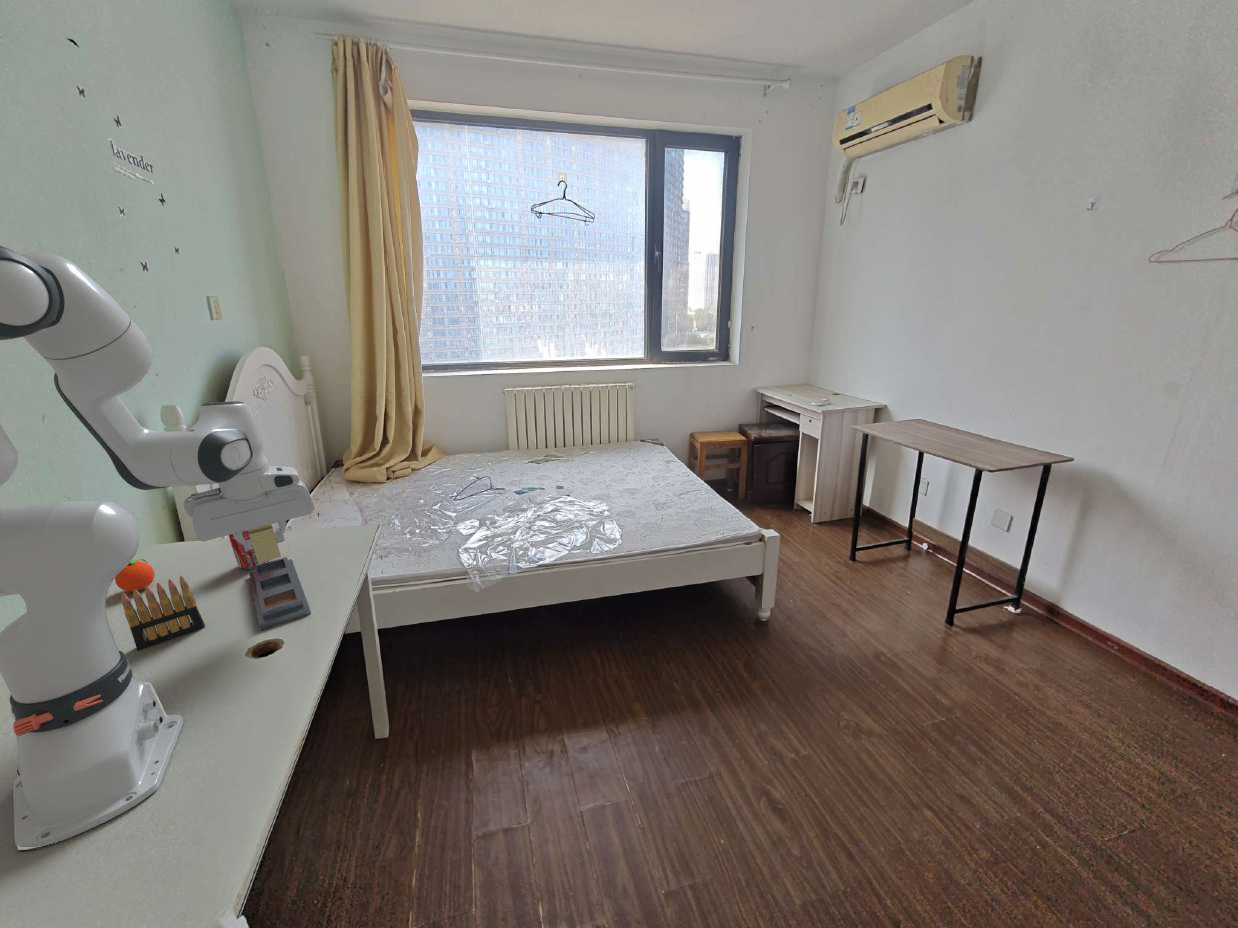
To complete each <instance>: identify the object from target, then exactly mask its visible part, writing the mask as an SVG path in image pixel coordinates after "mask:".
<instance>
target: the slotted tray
mask: <svg viewBox="0 0 1238 928" xmlns="http://www.w3.org/2000/svg"><path fill="white" fill-rule="evenodd" d="M252 568H253V569H251V570H249V571H248V573H249V578H250V583H251V589H252V595H253V599H254V605H255V610H256V616H257V621H258V626H259V629H260V631H265V630H267V629H270V628H272V627H276V626H278V625H282V624H284V623H288V622H290V621H293V620H296V619H299V618H302V617H305V616H308V615H311V614H312V613H311V612H312V611H311V609H310V605H309V602H308V599H307V597H306V594H305V592H304V589H303V586H302V583H301V580H300V578H299V575H298V572H297V570H296V567H295V565H294V561H293V559H292V558H290V559H288V557H287V556H285V557H280V558H276V559H273V560H269V561H267V563H263V564H260V565H256V566H253V567H252Z"/></svg>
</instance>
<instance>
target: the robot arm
mask: <svg viewBox="0 0 1238 928" xmlns="http://www.w3.org/2000/svg"><path fill="white" fill-rule="evenodd" d="M19 338H20V339H21V338H23V339H24V340H25V341H26V342H27V343H28V344H29V345H30V346H31V347H32V348H33V349H34V350H35V352H37V353H38V354H39V355H40V356H42V358H43V359H44V360H45V361H46V362H47V363H48V365H50V367H51V368H52V369H53V371H54V376H53V382H54V387H55V389H56V390H57V393H58V394H59V396H60V398H61V399H62V400H63V402H64V403H65V404H66V405H67V407H68V408H69V410H70V411H71V412H72V413H73V414H74V416H75V417H76V418H77V419H78V420H79V422H81V424H82V425H83V426H84V427H85V428H86V429H87V430H88V432H89V433H90V435H92V437H93V438H94V439H95V440H96V442H98V443H99V445H100V446H101V447H102V448H103V450H104V451H105V452H106V454H107V455H108V456H109V458H110V460H111V462H112V464H113V466H114V468H115V470H116V472H117V473H118V475H119V476H120V477H121V478H122V480H123V481H124V482H125V483H127V484H128V485H130V486H131V487H132V488H135V489H138V490H141V491H151V490H158V489H159V490H160V489H166V488H172V487H191V486H200V485H202V486H203V485H204V486H206V485H216V484H217V485H218V488H217V487H216V488H213V489H208V490H206V491H201V492H194V493H191V494H190V496H188V497H186V499H184V501H183V503H182V504H183V508H184V511H185V514H186V515H187V516H188V517H190V518H192V527H193V532H194V534H195V538H196V539H197V540H198V541H200V542H207V541H210V540H211V541H212V540H216V539H219V538H222V537H226V536H229V535H231V534H233V536H234V539H235V540H237V541H238V542H240V543H241V544H242V545H244V548H245V551H246V552H247V551H250V550H254V548H253V545H252V542H251V539H250V540H246V539H244V538H243V537H242V532H243V531H246V530H250V529H254V528H258V527H262V526H266V525H270V524H272V525H273V524H277V523H278V524H277V525H278V527H279V529H278V531H277V532H274V534H275V538H276V541H277V544H279V543H283V542H285V541H286V540H285V536H284V534H285V531H286V529H287V526H288V523H287V521H288V520H293V519H296V518H300V517H304V516H308V515H311V514H313V513H314V511H315V508H316V507H315V503H314V501H313V499H312V496H311V493H310V491H309V490H308V488H307V486H306V484H305V482H304V481H302V480H301V479H300V475H299V472H298V471H297V470H296V468H295V467H293V466H283V465H281V466H279V465H270V462H269V459H268V458H267V456H266V455H265V453H264V442H263V436H262V434H261V430H260V427H259V424H258V421H257V419H256V417H255V415H254V412H253V411H252V409H251V407H250V406H249V405H248V404H247V403H245V402H243V401H241V400H240V401H239V400H235V401H219V402H217V401H214V402H213V401H212V402H205V403H203V404H201V405H199V407H198V416H199V418H198V419H197V421H196V422H195V423H194V424H193V425H192V427H190V428H188V430H178V431H177V430H174V431H159V430H152V429H149V428H147V427H143V426H142V425H141V424H140V423H139V422H138V421H137V419H136V418H135V417H134V415H133V414H132V412H131V411H130V410H129V408H128V407H127V405H126V404H125V403H124V402H123V401H122V399H121V398H120V395H122V394H124V393H126V392H128V391H130V390H131V389H133V388H134V387H136V386H137V384H139V383H140V382H141V381H142V380H143V379H144V378H145V377H146V375H147V374H148V373H149V371H150V369H151V366H152V363H153V356H154V355H153V353H154V352H153V349H152V346H151V343H150V342H149V339H148V338H147V336H146V335H145V334H144V332H143V331H142V329H140V328H139V326H138V325H137V324H136V323H135V321H133V319H132V318H131V317H130V315H129V314H128V313H127V312H126V311H125V310H124V309H123V308H122V307H121V306H120V304H119V303H118V302H117V301H116V300H115V299H114V298H113V297H112V296H111V295H110V294H109V293H108V292H107V291H106V290H105V289H104V288H103V287H102V286H101V285H99V284H98V283H97V282H96V281H95V280H94V279H93V278H92V277H90V275H88V274H87V273H86V272H85V271H84V270H82V269H81V268H80V267H78V265H76V264H75V263H74V262H72V261H70V260H69V259H68V258H65V257H63V256H60V255H57V254H55V253H54V254H53V253H47V252H28V253H27V252H26V253H19V252H17V251H15V250H12V249H10V248H8V247H5V246H2V245H0V341H7V340H13V339H19ZM18 463H19V454H18V451H17V449H16V447H15V446H14V444H13V442H12V441H11V440H10V438H9V436H8V434H7V433H6V432H5V429H4V428H3V427H2V425H1V424H0V487H2V486H3V485H4V484H6V483H7V482H8V481H9V480H10V479H11V477H12V476H13V475H14V474H15V472H16V471H17V468H18ZM140 535H141V534H140V530H139V526H138V522H137V521H136V519H135V518H134V516H133V515H132V514H131V513H130V512H129V511H128V510H127V509H125V508H124V507H122V506H121V505H119V504H118V503H116V502H113V501H97V500H95V501H93V500H68V501H67V500H65V501H60V502H50V503H44V504H38V505H32V506H22V507H17V508H9V509H8V508H7V509H5V508H4V509H1V508H0V598H2V597H7V596H13V595H19V596H20V597H21V598H22V600H23V601H24V604H25V608H26V612H25V613H23V614H21V615H20V616H19V617H17V618H16V619H14V620H13V621H11V622H10V623H9V624H8V625H7V626H5V627H4V628H3V629H2V630H1V631H0V675H1V677H2V680H3V681H4V683H5V685H6V686H7V690H8V691H9V693H10V696H9V703H10V711H11V714H12V717H13V719H14V721H13V727H12V728H13V734H14V735H15V737H16V744H17V753H18V761H19V762H18V763H19V766H18V767H17V770H16V772H17V775H18V776H17V778H15V779H14V781H13V783H12V789H13V790H12V791H13V792H12V793H13V794H12V796H13V799H12V800H13V827H14V828H13V829H14V831H13V833H14V836H13V837H14V845H15V844H16V845H15V847H16V846H20V847H38V846H43V845H44V846H45V845H48V844H51V845H54V844H57V843H60V842H62V841H65V840H68V839H70V838H72V837H74V836H77V835H79V834H82V833H84V832H86V831H88V830H91V829H93V828H96V827H97V826H99V825H101V824H104V823H106V822H108V821H109V820H112V819H113V818H115V817H117V816H119V815H121V814H123V813H125V812H126V811H129V810H130V809H132V808H133V807H135V806H137V805H138V804H140V803H141V802H143V801H144V800H145V799H146V798H149V796H151V795H153V793H155V792H156V791H157V790H158V788H159V787H160V785H161V782H162V780H163V777H164V775H165V772H166V770H167V767H168V764H169V762H170V759H171V757H172V753H173V751H174V749H175V746H176V743H177V740H178V738H179V735H180V733H181V730H182V728H183V726H184V725H183V724H184V722H185V721H184V718H183V717H182V715H180V714H167V713H166V711H165V709H164V706H163V705H162V703H161V701H160V698H159V697H158V695H157V693H156V690H155V688H154V686H153V685H152V683H151V682H149V681H145V680H142V679H139V678H136V677H134V676H133V670H132V668H131V664H130V661H129V659H128V658H127V657H126V655H125V653H124V652H123V651H122V650H119V648H118V646H117V643H116V641H115V638H114V635H113V632H112V629H111V626H110V623H109V622H110V621H109V620H108V615H107V610H106V606H107V605H106V604H107V603H106V601H107V597H108V596H107V595H108V592H109V589H110V587H111V584H112V583H113V581H114V580H115V577H116V576H117V575H118V574H119V572H120V571H121V570H122V569H124V568H125V567H126V566H127V565H128V564H129V563H130V562H131V561H133V559H134V557H135V556H136V554H137V552H138V549H139V545H140V538H141V536H140ZM59 841H60V842H59ZM53 843H54V844H53ZM48 846H49V845H48ZM45 847H46V846H45Z"/></svg>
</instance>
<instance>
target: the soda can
mask: <svg viewBox="0 0 1238 928" xmlns="http://www.w3.org/2000/svg"><path fill="white" fill-rule="evenodd" d="M228 537H229V541H230V544H231V549H232V551H233V554H234V557H235V560H236V562H237V565H238V567H239V568H242V569H245V570H253V568H252V567H253V566H256V565H260V564H263V563H266V562H268V561H265V562H262V563H259V564H258V561H257V558H256V555H255V551H254V550H250V551H247V552H246V551H245V548H244V545H242V544H241V543H240V542H238V541H237V540H235V539H234V536H233V534H231V535H228ZM242 537H243V538H244V539H246V540H250V539H251V538H250V535H249V531H248V530H246V531H243V532H242Z"/></svg>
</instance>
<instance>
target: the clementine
mask: <svg viewBox="0 0 1238 928" xmlns="http://www.w3.org/2000/svg"><path fill="white" fill-rule="evenodd" d="M155 576H156V575H155V570H154V568H153V566H152V565H150V564H149V563H148V562H147V561H146V560H145V559H143V558H142V559H135V560H131V561H130V563H129V564H128V565H127V566H126V567H125V568H124V569H122V570H121V571H120V572H119V574H118V575H117V576H116V577H115V578H114V580H115V584H116V587H118V588H120V589H121V590H122V591H125V592H131V593H132V592H134V589H136V590H137V591H138V592H139V591H142V590H145V587H146V586H148V587H149V586H150V585H151V584H152V582H153V581H154V579H155Z"/></svg>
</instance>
